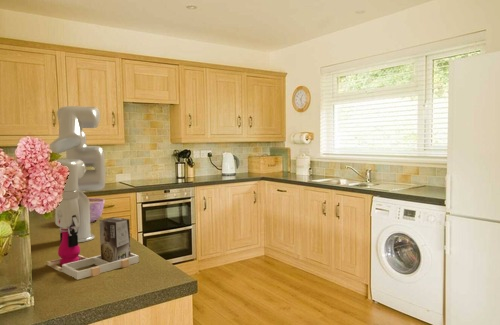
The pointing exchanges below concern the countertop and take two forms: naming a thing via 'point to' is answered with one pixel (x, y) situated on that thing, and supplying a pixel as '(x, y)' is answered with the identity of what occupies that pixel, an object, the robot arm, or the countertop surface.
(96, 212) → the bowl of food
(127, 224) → the coffee box
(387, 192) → the countertop surface
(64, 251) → the pepper mill
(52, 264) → the tray frame
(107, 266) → the frame
